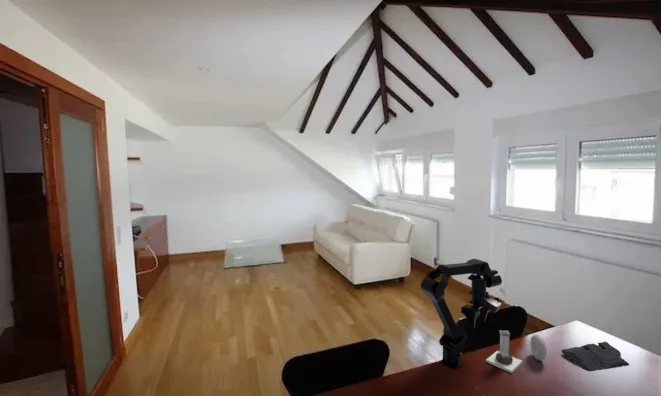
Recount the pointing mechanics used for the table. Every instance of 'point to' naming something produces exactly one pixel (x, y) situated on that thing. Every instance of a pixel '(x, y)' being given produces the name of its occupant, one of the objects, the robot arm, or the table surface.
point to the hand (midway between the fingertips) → (478, 325)
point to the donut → (538, 347)
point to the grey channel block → (504, 348)
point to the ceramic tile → (509, 368)
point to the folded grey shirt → (596, 356)
